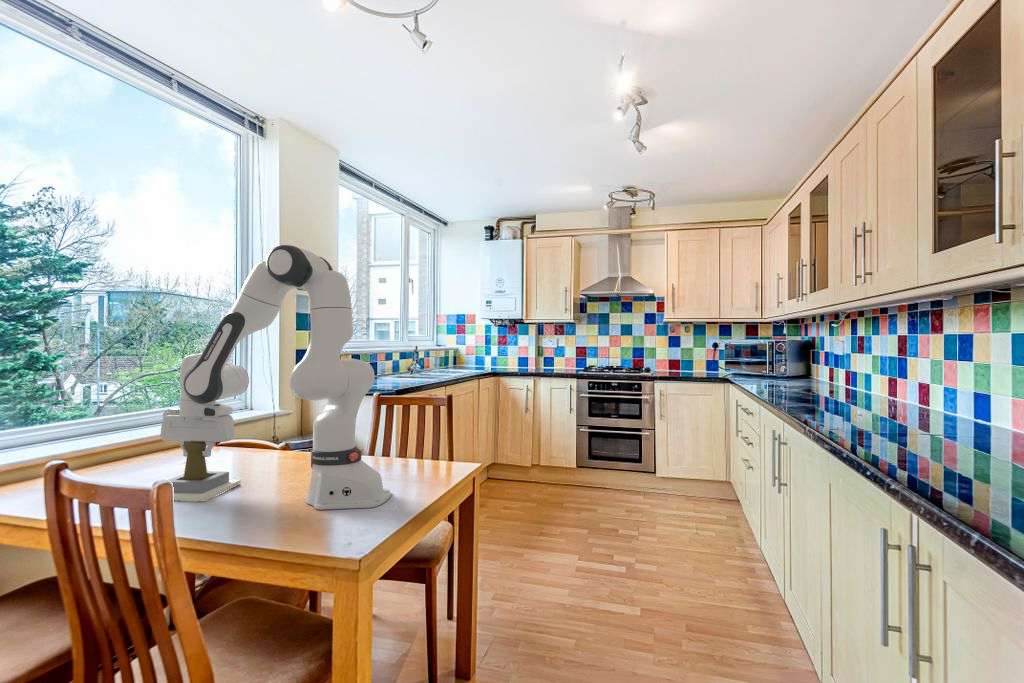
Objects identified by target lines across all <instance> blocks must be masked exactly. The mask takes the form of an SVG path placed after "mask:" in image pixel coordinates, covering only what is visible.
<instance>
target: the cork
mask: <svg viewBox="0 0 1024 683" xmlns="http://www.w3.org/2000/svg"><path fill="white" fill-rule="evenodd" d="M206 448H207V445H206V442H203V441H189V442H188V443H187V444H186V446H185V450H186V452H187V457H186V460H185V467H184V472H183V474H184V478H183V480H198V481H200V480H203V479H206V478H208V475H207V471H208V469H207V462H206V461H207V460H206V457H202V451H205V450H206Z"/></svg>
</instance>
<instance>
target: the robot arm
mask: <svg viewBox="0 0 1024 683" xmlns="http://www.w3.org/2000/svg"><path fill="white" fill-rule="evenodd" d="M293 289H296V290H297V291H305V292H307V294H308V296H309V314H310V316H309V318H310V319H309V320H310V337H309V342H308V345H307V350H306V351H305V353H304V355H303V357H302V359H300V361H299V362H298V363H297V364H295V366H294V367H293V368H292V370H291V372H290V375H289V386H290V389H291V391H292V393H293V394H294V395H295V397H296V398H299V399H301V400H308V401H323V400H327V402H326V405H325V407H324V409H323V410H322V412H320V414H318V415H317V416H316V417H315V418H314V420H313V424H312V425H313V426H312V448H311V451H310V467H311V477H310V482H309V484H310V485H309V489H308V493H307V496H306V499H305V502H306V504H308V505H311V506H313V508H314V509H315V510H321V511H322V510H338V509H339V510H340V509H341V510H342V509H367V508H370V509H371V508H376V507H379V506H381V505H382V504H384V503H386V502H387V501H388V500H389V499H390V497H391V495H392V492H391V490H390V489H388V488H384V486H383V479H382V477H381V474H380V472H379V471H377V470H376V469H374V468H373V467H371V466H370V465H368V464H367V463H366V462H365V461H363V460H362V454H363V453H364V448H362V449H359V448H358V447H357V446H356V424H357V423H356V421H357V417H358V412H359V410H360V407H361V404H362V401H363V400H364V397H366V394H367V393H368V392H369V391H370V390H371V389H372V388H373V386H374V383H375V379H376V378H375V377H376V375H375V370H374V368H373V365H371V364H370V363H369V362H367V361H365V360H361V359H356V358H341V354H342V351H343V348H344V346H345V344H347V343H348V342H349V341H351V340H352V338H353V335H354V326H353V310H352V300H351V292H350V287H349V284H348V280H347V278H346V276H345V275H344V274H342V273H341V272H339V271H336V270H334V269H333V267H332V265H331V264H330V263H329V261H327V259H325V258H324V257H322V256H319V255H317V254H315V253H313V252H312V251H310V250H307V249H304V248H299V247H297V246H295V245H290V244H289V245H288V244H282V245H278V246H275V247H273V248H272V249H271V250H269V252H268V254H267V257H266V260H265V261H263V260H262V261H260V262H257V263H256V264H255V265H254V267H253V268H252V269H251V271H250V273H249V274H248V275H247V278H246V280H245V281H244V283H243V286H242V288H241V290H240V292H239V294H238V296H237V298H236V301H235V302H234V304H233V305H232V307H231V308H230V310H228V312H227V314H226V315H225V316H224V317H223V318H222V319H221V321H220V322H219V324H218V325H217V327H216V328H215V330H214V332H213V334H212V335H211V338H210V339H209V341H208V343H207V345H206V347H205V348H204V350H203V352H200V353H192V354H189V355H186V356H184V357H183V359H182V360H181V363H180V364H181V365H180V368H179V369H180V370H179V387H180V390H181V391H180V396H179V405H178V406H179V408H172V407H171V408H167V409H166V410H165V411H164V412H163V413H162V421H161V422H162V423H161V428H160V436H159V437H160V438H161V440H162V441H164V442H166V441H167V442H179V447H180V448H181V450H182V452H183V457H185V458H187V452H186V450H185V446H186V444H187V443H188V442H190V441H203V442H206V450H205V451H202V457H205V458H209V457H211V456H212V450H213V448H214V447H215V445H216V443H226V442H229V441H232V440H233V438H234V437H235V421H234V418H233V416H232V415H231V414H232V413H233V407H232V406H231V405H227V404H224V403H222V402H219V400H220V401H221V400H224V399H225V400H226V399H228V398H234V397H238V396H240V395H242V394H243V393H245V392H246V391H247V389H248V387H249V383H250V378H249V375H248V372H247V370H245V368H244V367H242V366H240V365H236V364H232V363H229V362H228V361H229V359H230V357H231V355H233V352H234V350H235V348H236V347H237V345H239V343H240V341H242V340H243V339H244V338H246V337H248V336H249V335H252V334H254V333H256V332H259V331H261V330H264V329H266V328H268V327H269V326H271V325H272V323H273V322H274V321H275V319H277V318H276V317H277V316H278V314H279V311H280V309H281V308H282V307H281V306H282V304H283V302H284V300H285V297H286V295H287V293H288V292H289V291H291V290H293Z"/></svg>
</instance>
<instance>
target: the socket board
mask: <svg viewBox="0 0 1024 683" xmlns="http://www.w3.org/2000/svg"><path fill="white" fill-rule="evenodd" d="M207 475H208V478H206V479H203V480H200V481H198V480H183V478H184V473H183V474H181V475H177V476H175V477H174V476H173V477H172V478H169V479H168V480H169V481H171V482H172V483H173V487H174V500H175V501H174V502H178V501H177V500H181V501H180V502H197V501H205V502H207V501H209V500H211V499H213V498H215V497H217V496H216V495H218V494H220V493H222V492H224V491H226V490H228V491H230V490H232V489H231V488H233V487H235V486H237V485H239V484H240V485H241V479H230V471H208V470H207ZM240 485H239V486H240ZM237 487H238V486H237ZM235 488H236V487H235ZM229 489H230V490H229ZM233 489H234V488H233ZM226 492H227V491H226ZM224 493H225V492H224ZM222 494H223V493H222ZM220 495H221V494H220ZM214 496H215V497H214ZM218 496H219V495H218ZM212 497H213V498H212ZM210 498H211V499H210ZM208 499H209V500H208ZM206 500H207V501H206Z"/></svg>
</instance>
